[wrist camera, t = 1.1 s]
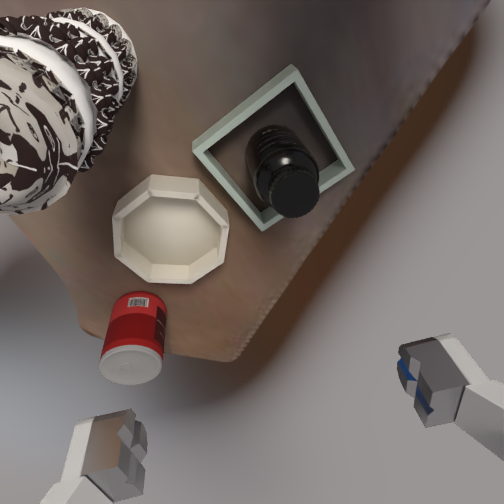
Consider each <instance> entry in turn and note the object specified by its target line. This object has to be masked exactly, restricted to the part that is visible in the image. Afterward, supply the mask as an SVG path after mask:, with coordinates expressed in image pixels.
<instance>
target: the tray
mask: <svg viewBox="0 0 504 504" xmlns="http://www.w3.org/2000/svg"><path fill="white" fill-rule="evenodd" d="M292 83H293V84H294V85H295V87H296V89H297V90H298V92H299V94H300V95H301V97H302V99H303V100H304V102H305V104H306V105H307V107H308V109H309V111H310V112H311V114H312V116H313V117H314V119H315V121H316V122H317V124H318V126H319V127H320V129H321V131H322V132H323V134H324V136H325V138H326V139H327V141H328V143H329V144H330V146H331V148H332V149H333V151H334V153H335V154H336V156H337V158H338V160H336V161H335V162H333V163H332V164H330V165H329V166H328V167H326V168H325V169H323V170H322V171H320V172H319V183H318V186H319V190H320V193H321V192H323V191H324V190H326V189H327V188H329V187H330V186H332V185H333V184H335V183H336V182H338V181H339V180H341V179H342V178H344V177H345V176H347V175H348V174H350V173H351V172H353V171H354V170H355V169H354V167H353V165H352V163H351V162H350V160H349V158H348V156H347V155H346V153H345V151H344V149H343V148H342V146H341V144H340V142H339V141H338V139H337V137H336V135H335V134H334V132H333V130H332V128H331V127H330V125H329V123H328V121H327V120H326V118H325V116H324V114H323V113H322V111H321V109H320V107H319V106H318V104H317V102H316V100H315V99H314V97H313V95H312V93H311V92H310V90H309V88H308V86H307V85H306V83H305V81H304V79H303V78H302V76H301V74H300V72H299V71H298V69H297V68H296V67H294V66H293V65H292V64H290V65H289V66H287V67H286V68H285V69H284V70H282V71H281V72H280V73H278V74H277V75H276V76H275V77H273V78H272V79H271V80H270V81H268V82H267V83H266V84H265V85H263V86H262V87H261V88H260V89H258V90H257V91H256V92H254V93H253V94H252V95H251V96H249V97H248V98H247V99H246V100H244V101H243V102H242V103H241V104H239V105H238V106H237V107H236V108H234V109H233V110H232V111H231V112H229V113H228V114H227V115H225V116H224V117H223V118H222V119H220V120H219V121H218V122H217V123H215V124H214V125H213V126H212V127H210V128H209V129H208V130H207V131H205V132H204V133H203V134H201V135H200V136H199V137H198V138H196V139H195V140H194V141H193V142H192V152H193V153H194V154H195V155H196V156H197V157H198V159H199V160H200V161H201V162H202V163H203V164H204V166H205V167H206V168H207V169H208V170H209V171H210V172H211V174H212V175H213V176H214V177H215V178H216V179H217V180H218V182H219V183H220V184H221V185H222V186H223V187H224V188H225V190H226V191H227V192H228V193H229V194H230V195H231V197H232V198H233V199H234V200H235V201H236V202H237V203H238V205H239V206H240V207H241V208H242V209H243V210H244V211H245V213H246V214H247V215H248V216H249V217H250V218H251V220H252V221H253V222H254V223H255V224H256V225H257V226H258V228H259V229H260V230H261V231H262V232H263V231H264V230H266V229H267V228H269V227H270V226H272V225H273V224H275V223H276V222H278V221H279V220H281V219H282V218H284V217H283V216H282V215H280V214H279V213H277V212H276V211H275V209H274V208H272V207H270V206H269V207H268V208H266V209H265V210H263V211H262V212H259V210H258V209H257V208H256V207H255V206H254V204H253V203H252V202H251V201H250V200H249V198H248V197H247V196H246V195H245V194H244V192H243V191H242V190H241V189H240V188H239V186H238V185H237V184H236V183H235V182H234V180H233V179H232V178H231V177H230V176H229V175H228V173H227V172H226V171H225V170H224V169H223V167H222V166H221V165H220V164H219V163H218V161H217V160H216V159H215V158H214V157H213V155H212V154H211V153H210V152H209V151H208V148H209V147H211V146H212V145H213V144H214V143H216V142H217V141H218V140H220V139H221V138H222V137H223V136H225V135H226V134H227V133H229V132H230V131H231V130H232V129H234V128H235V127H236V126H238V125H239V124H240V123H242V122H243V121H244V120H245V119H247V118H248V117H249V116H251V115H252V114H253V113H254V112H256V111H257V110H258V109H260V108H261V107H262V106H263V105H265V104H266V103H267V102H269V101H270V100H271V99H272V98H274V97H275V96H276V95H278V94H279V93H280V92H282V91H283V90H284V89H285V88H287V87H288V86H289V85H291V84H292ZM320 193H319V194H320Z"/></svg>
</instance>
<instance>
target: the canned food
mask: <svg viewBox="0 0 504 504" xmlns="http://www.w3.org/2000/svg"><path fill="white" fill-rule="evenodd" d="M165 324H166V307H165V304H164V302H163V301H162V299H161V298H159V297H158V296H157V295H155V294H153V293H150V292H145V291H135V292H130V293H127V294H125V295H123V296H122V297H120V298H119V299H118V300H117V302H116V303H115V305H114V306H113V310H112V314H111V318H110V322H109V326H108V330H107V334H106V338H105V341H104V346H103V349H102V353H101V358H100V362H99V363H100V365H99V370H100V373H101V374H102V376H103V377H104V378H106V379H107V380H109V381H111V382H114V383H116V384H121V385H139V384H143V383H146V382H148V381H151V380H153V379H154V378H155V377H157V376H158V374H159V373H160V371H161V368H162V362H163V351H164V338H165Z"/></svg>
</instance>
